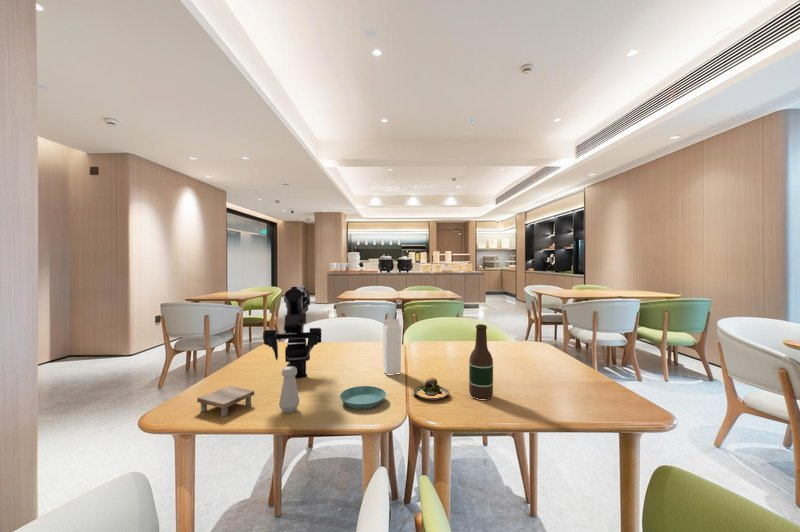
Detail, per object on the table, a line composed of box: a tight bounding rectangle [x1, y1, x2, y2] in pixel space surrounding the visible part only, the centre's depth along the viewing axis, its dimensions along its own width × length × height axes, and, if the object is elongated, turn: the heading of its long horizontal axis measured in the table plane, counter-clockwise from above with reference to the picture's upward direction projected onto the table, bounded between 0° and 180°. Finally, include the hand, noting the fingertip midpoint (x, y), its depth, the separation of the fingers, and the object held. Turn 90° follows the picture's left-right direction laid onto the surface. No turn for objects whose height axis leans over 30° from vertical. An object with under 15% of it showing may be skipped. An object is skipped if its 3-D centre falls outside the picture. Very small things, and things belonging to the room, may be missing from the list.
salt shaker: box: [278, 366, 300, 414], centre depth 100 cm, size 6×6×13 cm
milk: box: [382, 318, 402, 374], centre depth 136 cm, size 6×6×22 cm
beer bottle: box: [468, 324, 494, 399], centre depth 112 cm, size 8×8×24 cm
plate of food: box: [413, 376, 450, 400], centre depth 113 cm, size 12×12×8 cm
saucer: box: [339, 385, 387, 410], centre depth 107 cm, size 15×15×3 cm
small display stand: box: [196, 385, 255, 418], centre depth 102 cm, size 11×11×4 cm
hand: (291, 358), depth 108 cm, fingers open, 9 cm apart
